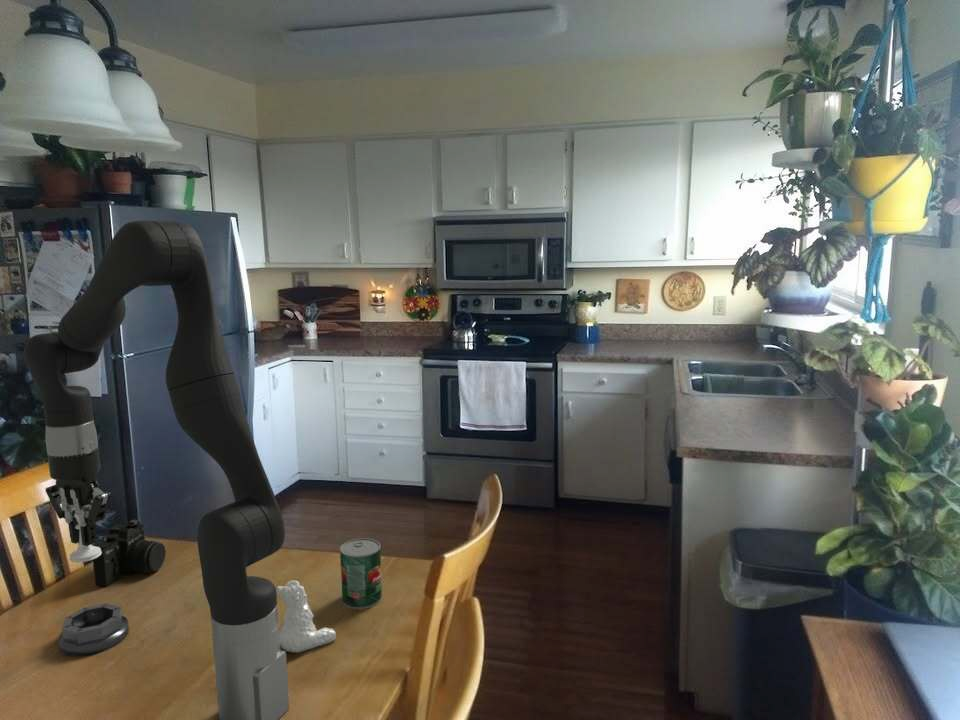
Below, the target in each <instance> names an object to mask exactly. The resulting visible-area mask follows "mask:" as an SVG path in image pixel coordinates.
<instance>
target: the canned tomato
mask: <svg viewBox="0 0 960 720" xmlns="http://www.w3.org/2000/svg"><path fill="white" fill-rule="evenodd" d="M339 552H340V553H339V556H340V575H341V576H340V577H341V596H342V597H341V598H342V599H341V601H342V604H343V605H344V606H345V607H346V608H347V607H348V608H350V609H354V610H364V609H369V608H372V607H374V606H377V605H378V604H379V603H380V602H381V601H382V600H383V591H382V590H383V588H382V587H383V586H382V584H383V582H382V563H381V562H382V559H381V558H382V556H381V555H382V554H381V553H382V552H381V543H380V542H379V541H378V540H375V539H373V538H366V537H365V538H364V537H362V538H359V537H358V538H354V539H350V540H348V541H344V543H342V544H341V545H340V547H339Z"/></svg>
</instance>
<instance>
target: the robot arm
mask: <svg viewBox="0 0 960 720" xmlns="http://www.w3.org/2000/svg"><path fill="white" fill-rule="evenodd" d="M141 286H142V287H143V286H144V287H161V286H162V287H163V286H170V288H171V291H172V293H173V295H174V296H173V297H174V300H175V306H176V312H177V328H176V333H175V337H174V340H173V343H172V346H171V350H170V353H169V356H168V361H167V364H166V368H165V383H166V388H167V391H168V395H169V399H170V402H171V406H172V408H173V412H174V416H175V419H176V422H177V423H178V425H179V426H180V427H181V430H183V432H185V434H186V435H187V436H188V437H189V438H190V439H191V440H192V441H193V442H194V443H195V444H196V445H197V446H199V447H200V448H201V450H203V451H204V452H205V453H206V454H208V455H209V456H210V458H212V460H214V461H215V462H216V463H217V465H218V466H219V467H220V468H221V469H222V471H223V473H224V474H225V476H226V478H227V481H228V483H229V485H230V489H231V491H232V493H233V496H234V497H233V498H234V502H231V503H229V504H226V505H223V506H221V507H218V508H216V509H213V510H211V511H209V512H207V513H205V514H204V516H202V517H201V519H200V520H199V523H198V528H197V535H196V536H197V538H196V539H197V548H198V551H197V552H198V556H199V563H200V568H201V569H200V570H201V578H202V584H203V590H204V594H205V597H206V600H207V603H208V605H209V610H210V611H209V612H210V621H211V622H210V624H211V635H212V636H211V637H212V647H213V660H214V661H213V662H214V672H215V684H216V695H217V698H216V699H217V707H218V719H219V720H279V719H280V718H281V717H282V716H283V715H284V714H285V713H286V712H287V711H288V710H289V709H290V699H289V698H290V695H289V681H288V666H287V653H286V652H287V651H285V650H281V646H280V642H279V632H280V629H279V617H278V616H279V613H278V612H279V611H278V610H279V609H278V593H277V587H276V586H275V584H274V583H273V582H272V581H271V580H270V579H267V578H264V577H261V576H253V575H248V573H247V568H248V567H249V566H251V565H253V564H254V565H255V563H257V562H259V561H262V560H263V559H266V558H268V557H269V556H272V555H273V554H276V553H277V552H278V551H279V550H280V549H281V548H282V546H283V544H284V542H285V537H286V536H285V535H286V533H285V532H286V529H285V523H284V519H283V515H282V511H281V508H280V505H279V503H278V501H277V498H276V495H275V492H274V490H273V488H272V485H271V483H270V481H269V478H268V475H267V473H266V471H265V468H264V465H263V462H262V460H261V458H260V456H259V453H258V450H257V447H256V444H255V440H254V438H253V435H252V431H251V427H250V425H249V421H248V419H247V414H246V411H245V407H244V404H243V399H242V395H241V392H240V389H239V385H238V382H237V378H236V375H235V371H234V368H233V365H232V363H231V360H230V356H229V353H228V350H227V347H226V346H227V345H226V343H225V339H224V336H223V332H222V328H221V324H220V320H219V317H218V313H217V312H218V311H217V306H216V303H215V297H214V291H213V287H212V281H211V276H210V269H209V264H208V261H207V256H206V251H205V248H204V245H203V243H202V240H201V238H200V235H199V234H198V232H197V231H196V230H195V229H194V228H193V227H192V226H191V225H189V224H188V223H185V222H182V221H170V220H169V221H163V220H161V221H160V220H134V221H130V222H127V223H125V224H124V225H123V226H121V227H120V228H119V229H118V231H117V232H116V233H115V235H113V238H112V239H111V240H110V243H109V244H108V246H107V248H106V250H105V252H104V254H103V255H102V258H101V260H100V262H99V264H98V265H97V268H96V270H95V272H94V274H93V276H92V277H91V280H90V282H89V283H88V286H87V288H86V289H85V291H84V292H83V294H82V295H81V296H80V297H79V298H78V299H77V301H76V302H75V303H74V304H73V305H72V306H71V307H70V308H69V310H67V311H66V313H65V314H64V315H63V317H61V319H60V321H59V322H58V326H57V331H56V332H48V333H39V334H36V335H33V336H31V337H30V338H29V339H28V340H27V342H26V343H25V344H24V345H25V346H24V349H23V360H24V363H25V365H26V368H27V369H28V371H29V374H30V376H31V377H32V380H33V382H34V385H35V387H36V388H37V391H38V393H39V396H40V399H41V401H42V406H43V408H42V409H43V415H44V416H43V417H44V423H45V445H46V455H47V461H48V471H49V477H50V478H51V479H53V480H55V484H54V485H51V486H48V487H45V493H46V495H47V498H48V499H49V501H50V503H51V505H52V507H53V510H54V512H55V514H56V515H57V517H58V519H64V521H65V524H68V530H69V532H68V533H69V537H70V542H71V543H72V544H79V536H80V533H79V532H80V530H79V529H76V528H75V527H76V525H78V524H79V523H78V522H77V519H76V518H75V516H74V514H75V513H76V514H78V515H79V520H80V524H81V526H80V529H81V538H82V545H84V546H89V545H94V544H95V543H96V542H97V539H98V537H97V529H96V527H97V526H96V523H97V522H100V521H103V520H105V518H106V515H107V511H108V508H109V505H110V502H111V499H112V495H113V494H112V493H111V492H110V491H105V492H104V491H103V490H101V489H100V484H99V481H98V480H97V475H98V473H99V472H100V470H101V460H100V451H99V442H98V434H97V429H96V425H95V420H94V411H93V404H92V403H93V402H92V395H91V392H90V390H89V389H88V388H87V387H85V386H82V385H81V386H80V385H65V384H64V382H63V381H62V379H61V376H60V375H67V374H71V373H76V372H78V373H79V372H81V371H83V372H84V371H86V370H88V369H90V368H92V367H93V366H94V365H96V364H97V363H98V361H99V359H100V356H101V352H102V351H103V347H104V344H105V342H106V341H107V340H109V338H110V337H111V336H113V334H115V333H116V332H117V330H118V329H119V328H120V327H121V325H122V324H123V322H124V319H125V317H126V312H127V311H126V310H127V309H126V302H125V298H124V297H125V296H126V295H128V294H129V293H131V292H132V291H134V290H135V289H137V288H139V287H141ZM82 506H83V507H82ZM86 512H87V513H88V515H87V517H86Z"/></svg>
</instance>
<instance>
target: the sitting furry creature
mask: <svg viewBox="0 0 960 720" xmlns="http://www.w3.org/2000/svg"><path fill="white" fill-rule="evenodd" d="M276 594H277V596H280V600H281V601H283V604H284V605H285V606H287V608H286V610H285V611H284V614H283V616H282V617H283V623H282V624H281V627H280V629H279V642H280V649H283V651H285V652H289V653H293V654H298V653H299V654H300V653H301V652H305V651H307V650H311V649H314V648H317V647H320V646H323V645H327V644H330V643H333V642H334V640H336V638H337V634H336V631H335V630H334V628H329V627H322V628H320V629H318V630H317V628H316V625H315V623H314V622H313V619H314V614H313V613H312V610H311V609H310V606H309V604H308V595H307V594H306V591H305V588H304V585H300V582H299V581H297V580H293V579H292V580H290V581H287V583H285V585H284V586H282V585H279V586H276Z"/></svg>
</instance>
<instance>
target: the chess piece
mask: <svg viewBox="0 0 960 720" xmlns="http://www.w3.org/2000/svg"><path fill="white" fill-rule="evenodd" d="M82 507H84V506H82ZM74 516H75V518H76V519H77V522H78V523H79V524H78V525H76V527H75V528H76V529H79V530H80V532H79V533H80V536H79V543H78V547H77V548H76V549H75V550H73V551H72V552H71V553H70V554H69V561H70V562H72V563H85V562H89V561H93V559H95V558H97V557H99V556H100V555H101V554H102V552H101V549H100V548H99V547H96V546H93V544H91V545H89V546H84V545H82V538H81V529H80V526H81V524H80V520H79V515H78V514H76V513H75V514H74ZM86 517H88V512H86Z"/></svg>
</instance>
